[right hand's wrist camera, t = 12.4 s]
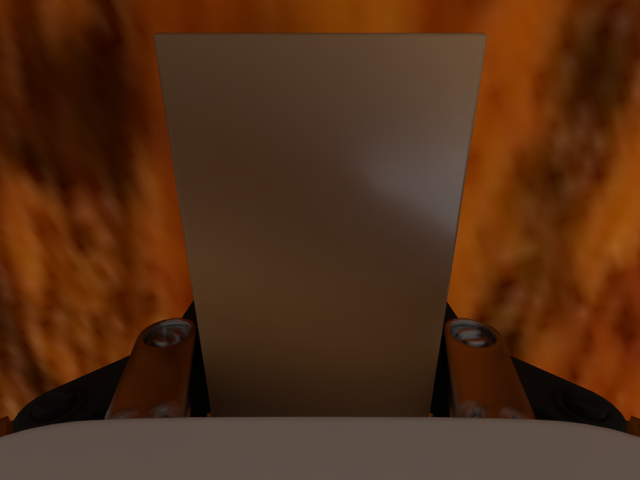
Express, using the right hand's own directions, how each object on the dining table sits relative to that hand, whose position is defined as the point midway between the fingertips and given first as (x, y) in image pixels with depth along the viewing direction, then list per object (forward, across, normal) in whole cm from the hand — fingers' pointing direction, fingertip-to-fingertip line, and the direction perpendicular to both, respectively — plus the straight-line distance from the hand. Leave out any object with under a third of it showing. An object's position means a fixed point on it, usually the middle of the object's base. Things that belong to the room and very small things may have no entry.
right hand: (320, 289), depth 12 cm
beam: (+2, 0, -23) cm, 23 cm away
